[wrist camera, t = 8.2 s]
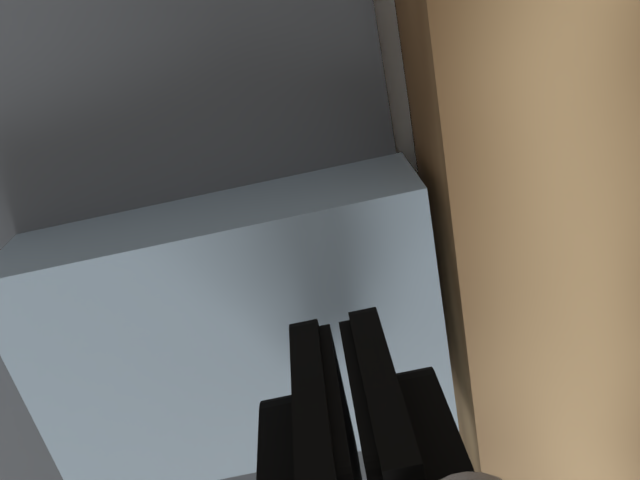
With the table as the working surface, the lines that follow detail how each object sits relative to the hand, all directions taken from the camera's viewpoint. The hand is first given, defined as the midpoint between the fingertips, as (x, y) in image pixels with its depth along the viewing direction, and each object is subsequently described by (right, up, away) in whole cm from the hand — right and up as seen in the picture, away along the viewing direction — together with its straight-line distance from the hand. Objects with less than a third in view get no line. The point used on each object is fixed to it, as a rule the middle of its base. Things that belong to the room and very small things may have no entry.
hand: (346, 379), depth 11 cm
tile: (-3, +1, +3) cm, 4 cm away
